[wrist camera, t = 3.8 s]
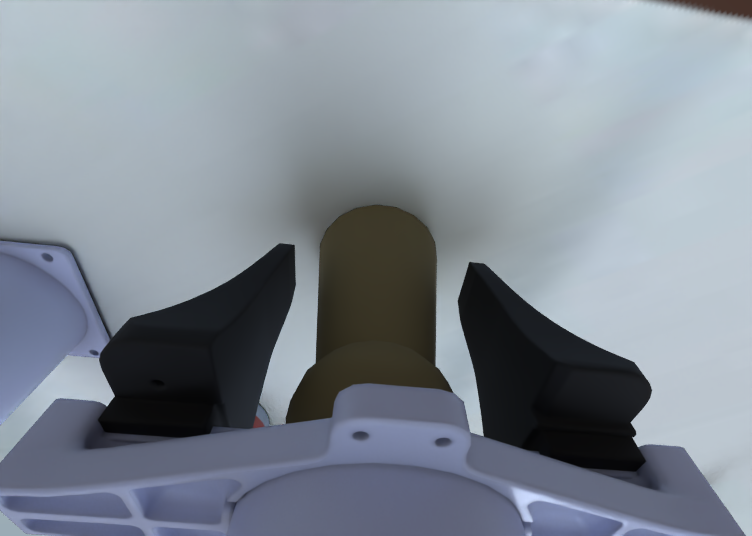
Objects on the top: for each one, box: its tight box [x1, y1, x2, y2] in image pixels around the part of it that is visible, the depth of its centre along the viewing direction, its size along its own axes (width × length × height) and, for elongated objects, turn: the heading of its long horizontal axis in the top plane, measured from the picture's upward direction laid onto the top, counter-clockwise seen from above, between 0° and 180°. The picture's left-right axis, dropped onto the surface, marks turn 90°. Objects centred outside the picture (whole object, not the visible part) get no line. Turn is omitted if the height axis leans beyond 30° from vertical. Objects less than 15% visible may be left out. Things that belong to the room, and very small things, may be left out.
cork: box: [286, 205, 453, 424], centre depth 14 cm, size 6×6×11 cm
